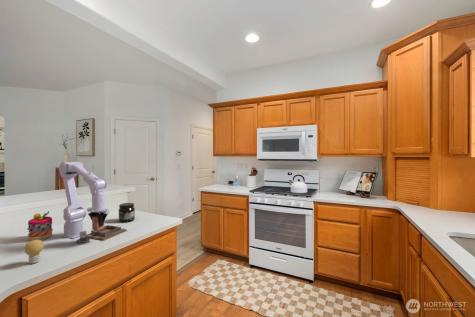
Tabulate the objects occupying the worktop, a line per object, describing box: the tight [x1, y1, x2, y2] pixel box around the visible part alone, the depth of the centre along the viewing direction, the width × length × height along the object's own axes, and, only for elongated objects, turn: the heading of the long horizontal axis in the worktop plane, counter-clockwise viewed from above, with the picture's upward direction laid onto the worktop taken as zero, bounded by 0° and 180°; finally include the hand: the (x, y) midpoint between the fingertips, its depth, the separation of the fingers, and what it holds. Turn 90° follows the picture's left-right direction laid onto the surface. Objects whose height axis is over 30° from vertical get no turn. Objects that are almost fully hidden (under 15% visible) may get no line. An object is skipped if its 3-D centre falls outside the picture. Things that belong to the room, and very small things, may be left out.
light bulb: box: [23, 240, 45, 265], centre depth 96 cm, size 6×6×10 cm
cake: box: [27, 210, 53, 242], centre depth 124 cm, size 10×11×15 cm
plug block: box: [91, 216, 105, 231], centre depth 120 cm, size 4×4×7 cm
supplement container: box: [118, 202, 136, 223], centre depth 156 cm, size 10×10×12 cm
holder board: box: [86, 224, 128, 241], centre depth 131 cm, size 15×16×3 cm
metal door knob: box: [76, 230, 91, 244], centre depth 120 cm, size 6×6×5 cm
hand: (98, 225), depth 120 cm, fingers closed on plug block, 4 cm apart
